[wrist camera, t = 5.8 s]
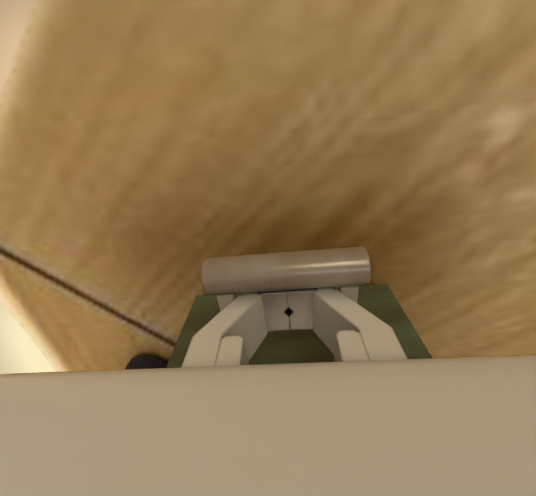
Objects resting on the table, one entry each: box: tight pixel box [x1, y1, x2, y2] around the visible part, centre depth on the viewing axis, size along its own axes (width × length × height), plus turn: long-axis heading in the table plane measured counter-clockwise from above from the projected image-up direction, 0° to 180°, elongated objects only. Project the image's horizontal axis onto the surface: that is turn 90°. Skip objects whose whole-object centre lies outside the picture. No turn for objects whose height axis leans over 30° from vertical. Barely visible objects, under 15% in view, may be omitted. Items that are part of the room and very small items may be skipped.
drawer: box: [166, 246, 432, 368], centre depth 14 cm, size 19×11×7 cm, turn 6°
